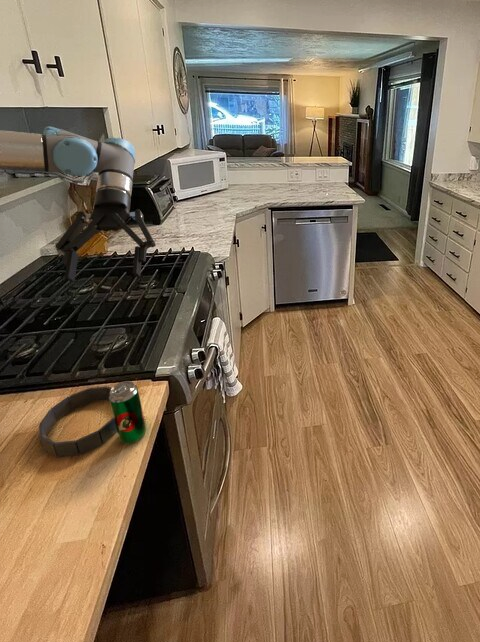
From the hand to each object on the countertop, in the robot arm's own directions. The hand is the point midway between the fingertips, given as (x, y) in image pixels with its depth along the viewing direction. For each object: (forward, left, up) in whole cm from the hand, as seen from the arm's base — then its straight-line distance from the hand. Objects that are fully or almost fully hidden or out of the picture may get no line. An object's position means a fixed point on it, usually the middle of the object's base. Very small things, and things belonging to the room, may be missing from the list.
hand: (103, 277), depth 79 cm
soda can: (+16, -12, -28) cm, 34 cm away
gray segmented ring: (+5, -14, -28) cm, 31 cm away
